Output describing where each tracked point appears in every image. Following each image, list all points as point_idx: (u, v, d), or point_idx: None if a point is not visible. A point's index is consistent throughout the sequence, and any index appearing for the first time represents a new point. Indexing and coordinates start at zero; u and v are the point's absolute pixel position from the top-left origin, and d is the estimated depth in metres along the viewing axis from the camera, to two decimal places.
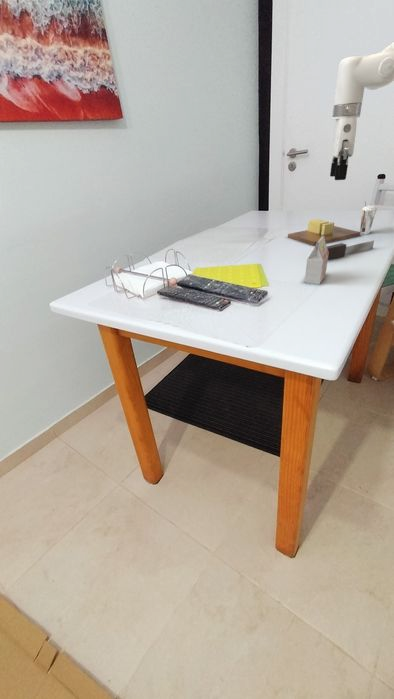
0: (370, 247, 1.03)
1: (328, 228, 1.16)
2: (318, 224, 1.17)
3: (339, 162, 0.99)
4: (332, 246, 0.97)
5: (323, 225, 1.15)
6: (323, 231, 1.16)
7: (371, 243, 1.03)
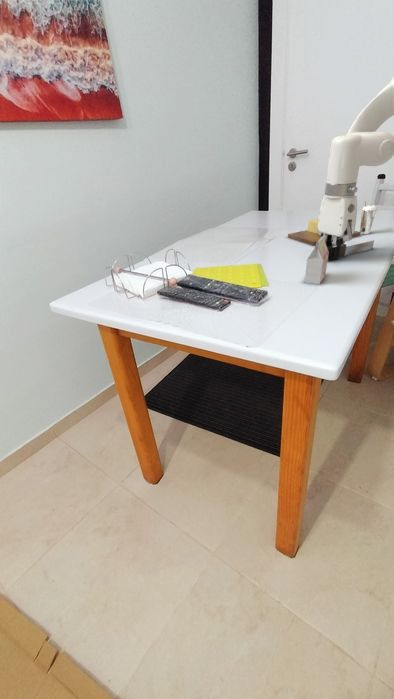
0: (370, 247, 1.03)
1: None
2: None
3: (336, 246, 0.94)
4: None
5: None
6: None
7: (371, 243, 1.03)
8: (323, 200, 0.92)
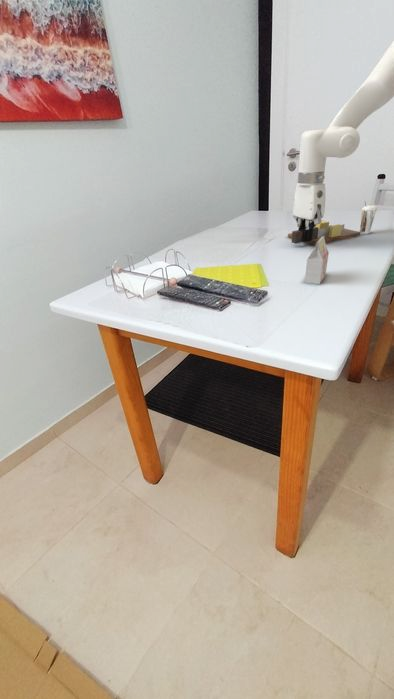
0: (341, 230, 1.15)
1: (336, 230, 1.13)
2: (318, 224, 1.17)
3: (308, 228, 1.06)
4: None
5: (331, 227, 1.12)
6: (331, 233, 1.13)
7: (342, 227, 1.15)
8: (296, 188, 1.05)
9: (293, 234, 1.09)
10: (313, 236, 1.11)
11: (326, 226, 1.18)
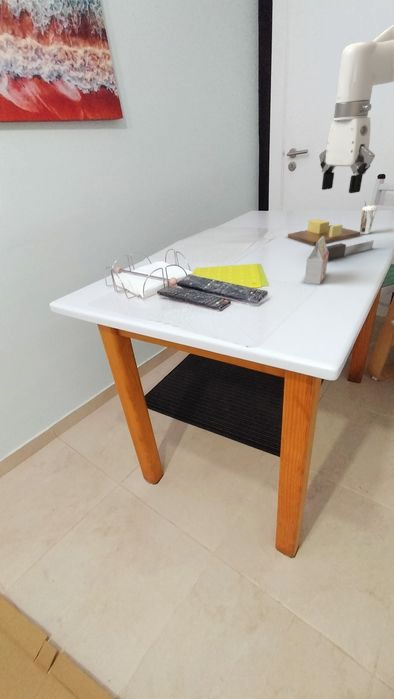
0: (370, 247, 1.03)
1: (336, 230, 1.13)
2: (318, 224, 1.17)
3: (358, 171, 0.81)
4: (332, 246, 0.97)
5: (331, 227, 1.12)
6: (331, 233, 1.13)
7: (371, 243, 1.03)
8: (332, 126, 0.83)
9: None
10: (340, 254, 0.98)
11: (326, 226, 1.18)
